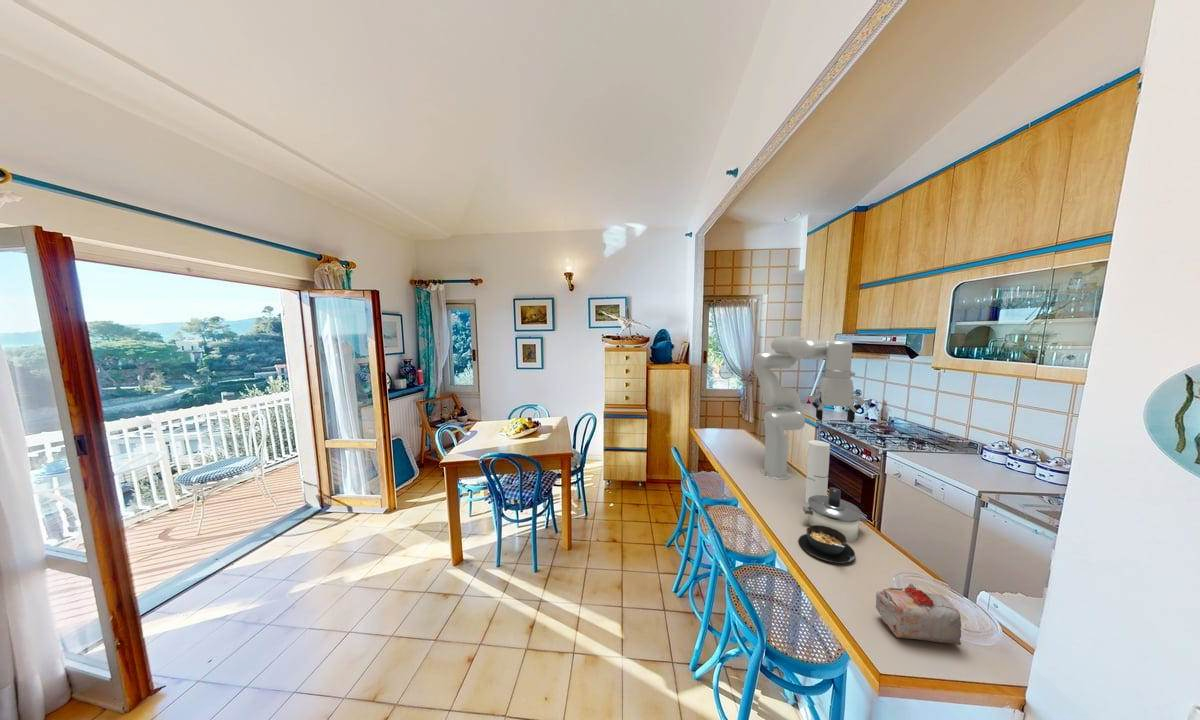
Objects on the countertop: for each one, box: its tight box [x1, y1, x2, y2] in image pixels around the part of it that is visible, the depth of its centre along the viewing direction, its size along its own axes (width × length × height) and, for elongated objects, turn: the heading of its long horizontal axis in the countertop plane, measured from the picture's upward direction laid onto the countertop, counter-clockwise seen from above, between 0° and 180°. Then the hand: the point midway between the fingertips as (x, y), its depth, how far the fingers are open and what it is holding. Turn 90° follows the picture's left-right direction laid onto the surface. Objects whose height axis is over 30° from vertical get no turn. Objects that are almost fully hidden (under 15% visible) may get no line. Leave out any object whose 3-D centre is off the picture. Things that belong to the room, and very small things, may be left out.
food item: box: [874, 583, 962, 646], centre depth 77 cm, size 14×8×10 cm, turn 81°
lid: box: [807, 486, 863, 522], centre depth 115 cm, size 15×15×7 cm
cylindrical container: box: [804, 439, 831, 504], centre depth 132 cm, size 7×7×25 cm
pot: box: [802, 505, 868, 543], centre depth 116 cm, size 14×18×7 cm
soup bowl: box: [797, 525, 857, 564], centre depth 105 cm, size 15×16×7 cm
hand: (834, 420), depth 122 cm, fingers open, 9 cm apart
